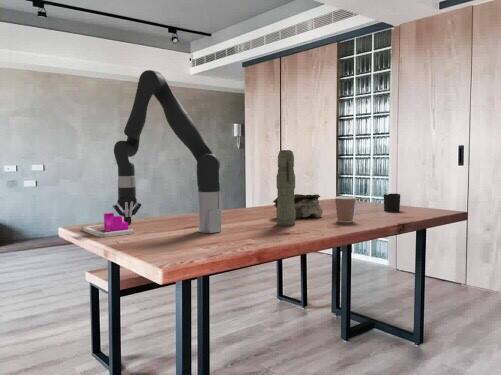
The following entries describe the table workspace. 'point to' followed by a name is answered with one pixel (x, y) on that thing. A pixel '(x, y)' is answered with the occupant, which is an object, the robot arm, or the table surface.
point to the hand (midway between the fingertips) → (127, 225)
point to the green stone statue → (285, 189)
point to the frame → (107, 234)
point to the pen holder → (392, 202)
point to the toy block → (114, 223)
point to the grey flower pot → (345, 208)
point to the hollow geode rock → (305, 205)
